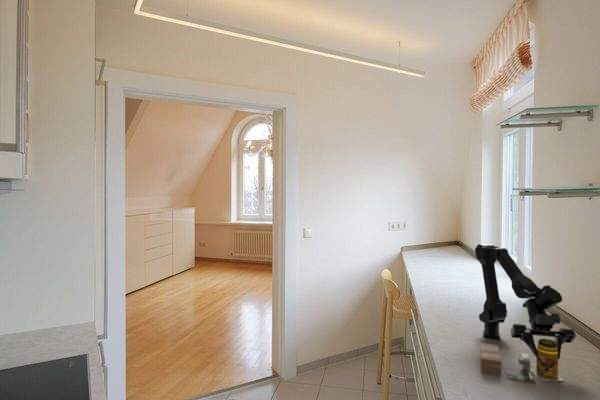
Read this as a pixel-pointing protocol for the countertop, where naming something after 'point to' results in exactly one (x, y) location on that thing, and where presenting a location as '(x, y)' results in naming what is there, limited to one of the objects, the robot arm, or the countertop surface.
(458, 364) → the countertop surface
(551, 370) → the condiment
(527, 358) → the plunger
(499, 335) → the robot arm
